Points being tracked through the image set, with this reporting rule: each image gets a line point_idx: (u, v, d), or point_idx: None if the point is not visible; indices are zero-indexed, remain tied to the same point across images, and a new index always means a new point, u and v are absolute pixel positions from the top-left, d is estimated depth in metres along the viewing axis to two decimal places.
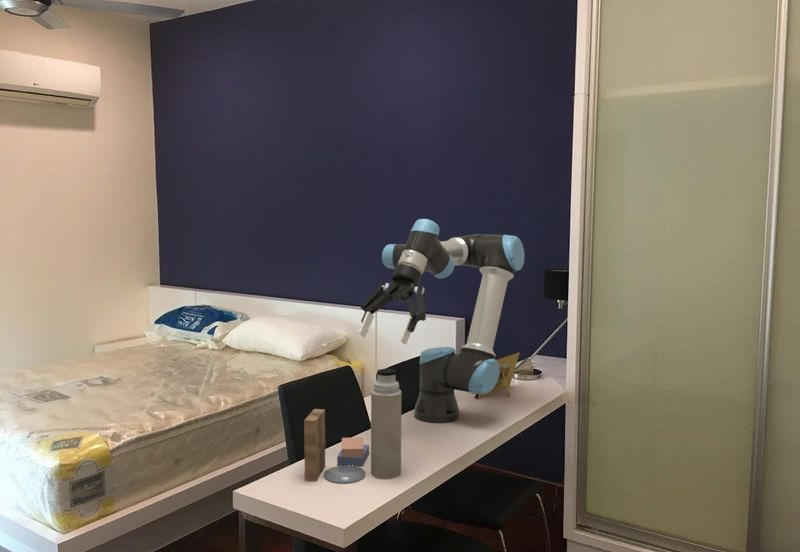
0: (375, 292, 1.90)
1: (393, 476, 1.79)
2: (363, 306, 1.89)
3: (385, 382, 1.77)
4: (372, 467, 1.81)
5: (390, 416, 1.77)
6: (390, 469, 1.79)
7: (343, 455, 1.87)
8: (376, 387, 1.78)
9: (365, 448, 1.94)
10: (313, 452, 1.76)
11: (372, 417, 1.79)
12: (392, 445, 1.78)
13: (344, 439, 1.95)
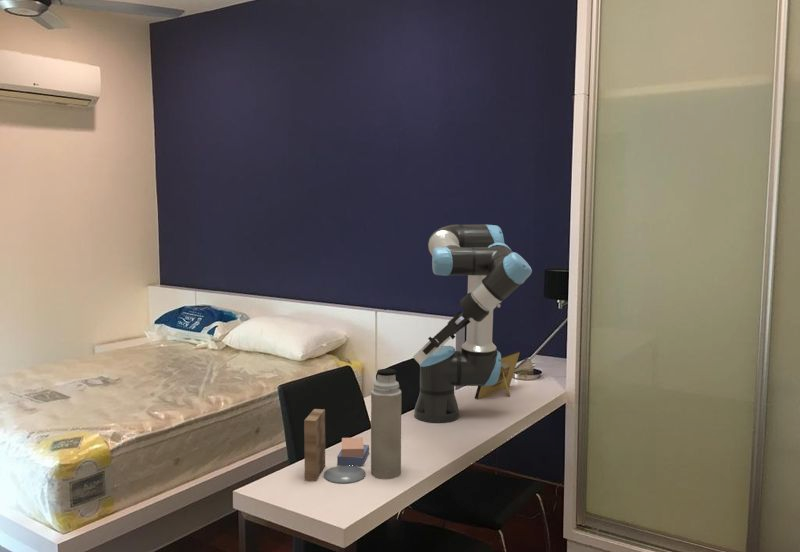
0: (453, 332, 1.73)
1: (393, 476, 1.79)
2: None
3: (385, 382, 1.77)
4: (372, 467, 1.81)
5: (390, 416, 1.77)
6: (390, 469, 1.79)
7: (343, 455, 1.87)
8: (376, 387, 1.78)
9: (365, 448, 1.94)
10: (313, 452, 1.76)
11: (372, 417, 1.79)
12: (392, 445, 1.78)
13: (344, 439, 1.95)
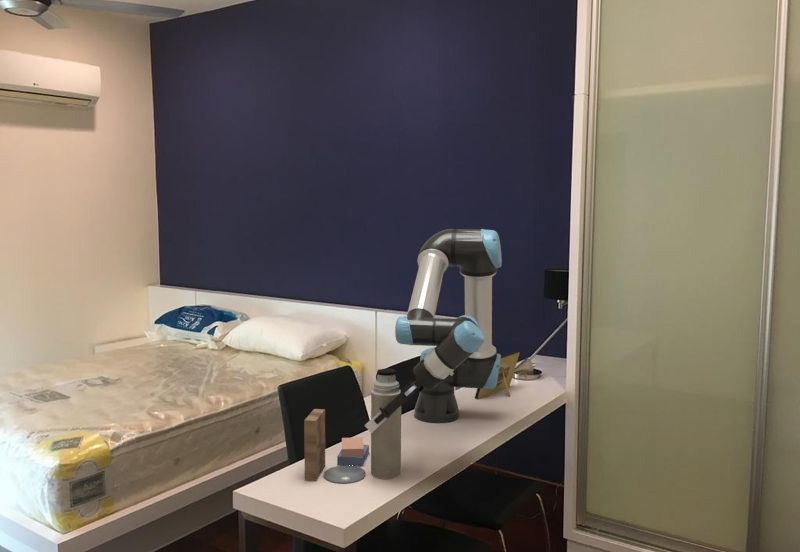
0: None
1: (393, 476, 1.79)
2: None
3: (385, 382, 1.78)
4: (372, 467, 1.81)
5: (390, 416, 1.77)
6: (390, 469, 1.79)
7: (343, 455, 1.87)
8: (376, 387, 1.78)
9: (365, 448, 1.94)
10: (313, 452, 1.76)
11: (372, 417, 1.79)
12: (392, 445, 1.78)
13: (344, 439, 1.95)
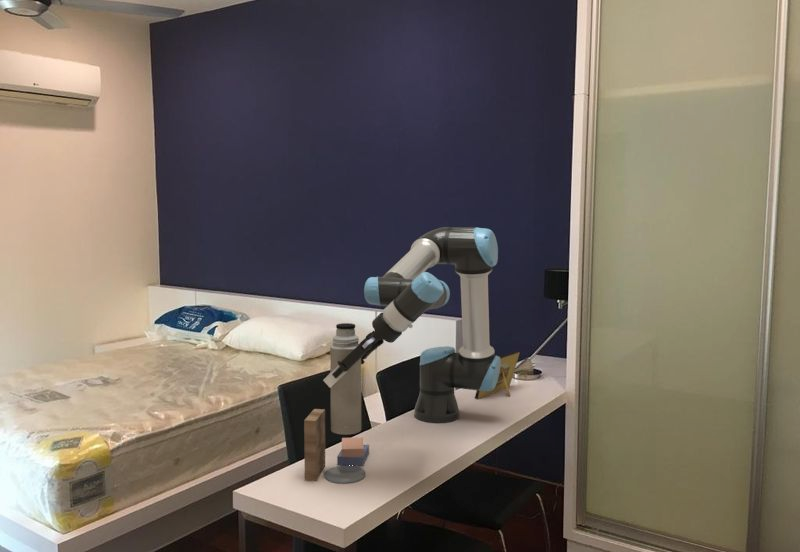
0: (361, 355, 1.69)
1: (353, 432, 1.76)
2: None
3: (344, 336, 1.75)
4: (331, 423, 1.78)
5: (349, 371, 1.74)
6: (349, 425, 1.76)
7: (343, 455, 1.87)
8: (335, 341, 1.75)
9: (365, 448, 1.94)
10: (313, 452, 1.76)
11: None
12: (351, 400, 1.75)
13: (344, 439, 1.95)
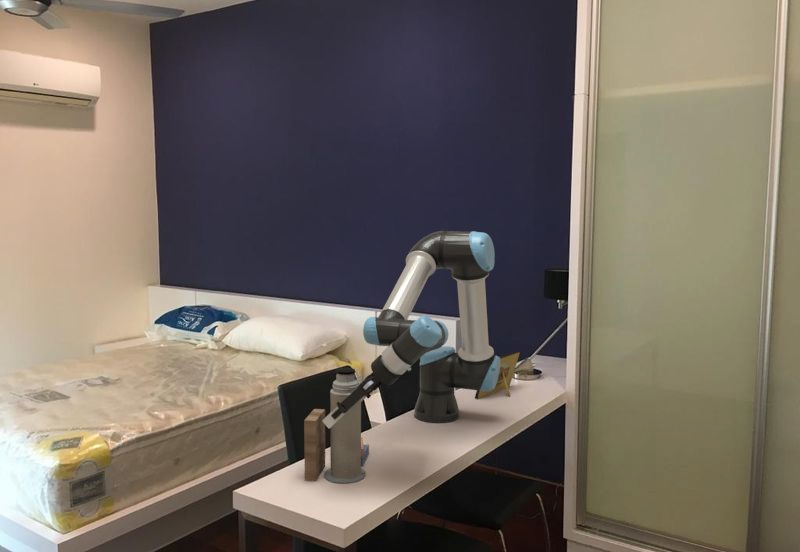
0: (361, 397, 1.69)
1: (352, 476, 1.78)
2: None
3: (344, 381, 1.76)
4: (331, 467, 1.79)
5: (349, 416, 1.76)
6: (349, 469, 1.77)
7: None
8: (335, 386, 1.76)
9: (365, 448, 1.94)
10: (313, 452, 1.76)
11: None
12: (351, 445, 1.77)
13: None
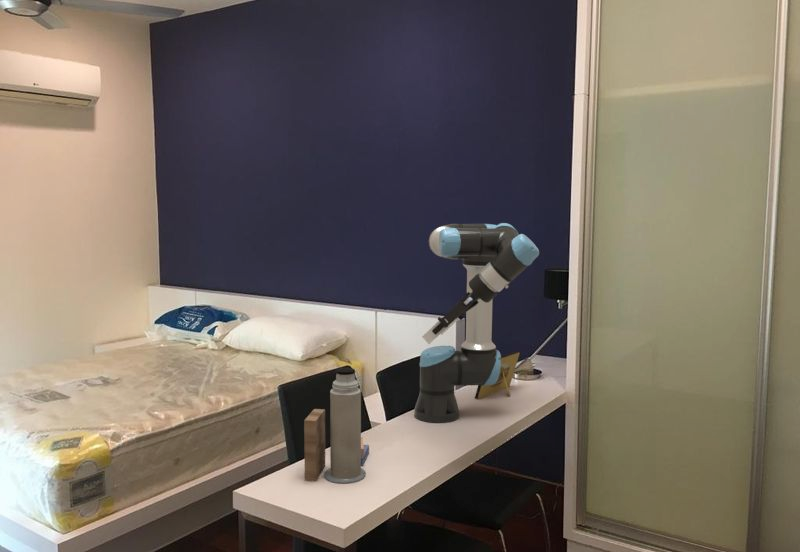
0: (462, 312, 1.76)
1: (352, 476, 1.78)
2: None
3: (344, 381, 1.76)
4: (331, 467, 1.79)
5: (348, 416, 1.76)
6: (349, 469, 1.77)
7: None
8: (335, 386, 1.76)
9: (365, 448, 1.94)
10: (313, 452, 1.76)
11: (331, 416, 1.78)
12: (351, 445, 1.77)
13: None
